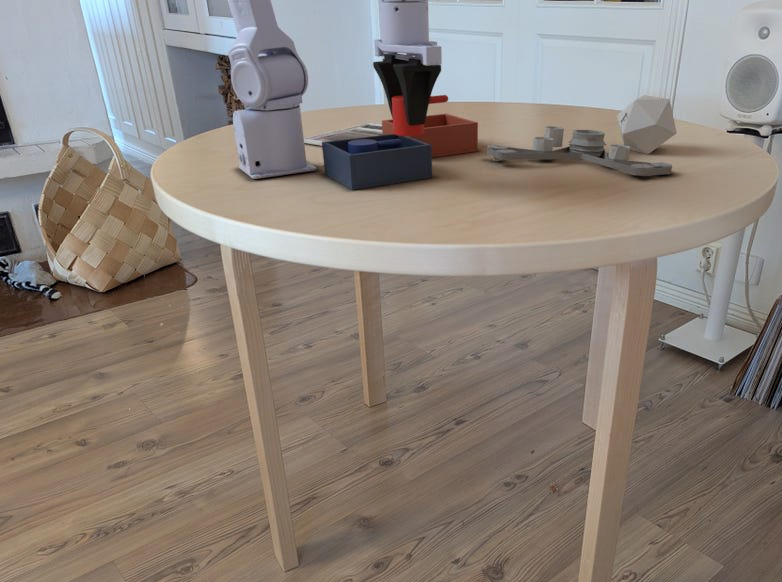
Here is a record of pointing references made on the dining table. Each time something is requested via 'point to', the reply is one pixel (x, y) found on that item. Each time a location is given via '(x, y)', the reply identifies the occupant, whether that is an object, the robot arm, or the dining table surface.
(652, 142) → the die
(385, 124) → the red bin
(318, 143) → the grey striped panel
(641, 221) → the dining table surface
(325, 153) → the blue bin
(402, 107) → the red scoop
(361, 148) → the blue scoop
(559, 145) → the pulley system
